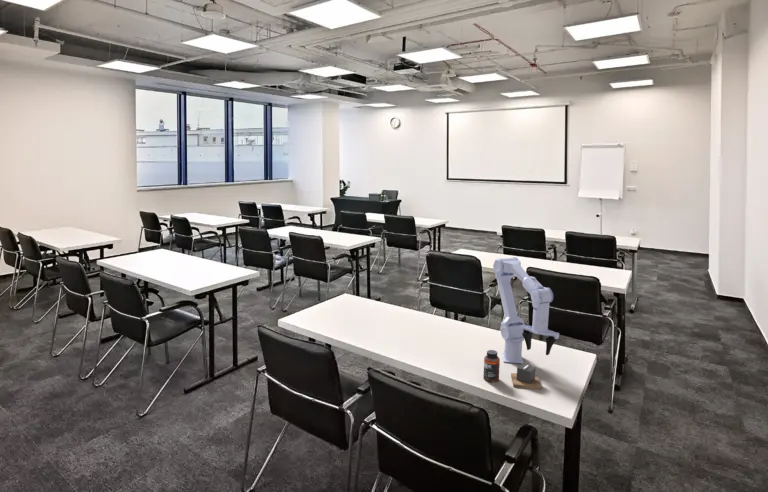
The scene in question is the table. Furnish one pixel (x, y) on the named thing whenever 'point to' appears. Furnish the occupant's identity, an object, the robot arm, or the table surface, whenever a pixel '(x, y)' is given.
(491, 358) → the supplement bottle
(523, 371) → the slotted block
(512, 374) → the block
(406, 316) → the table surface
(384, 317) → the table surface
